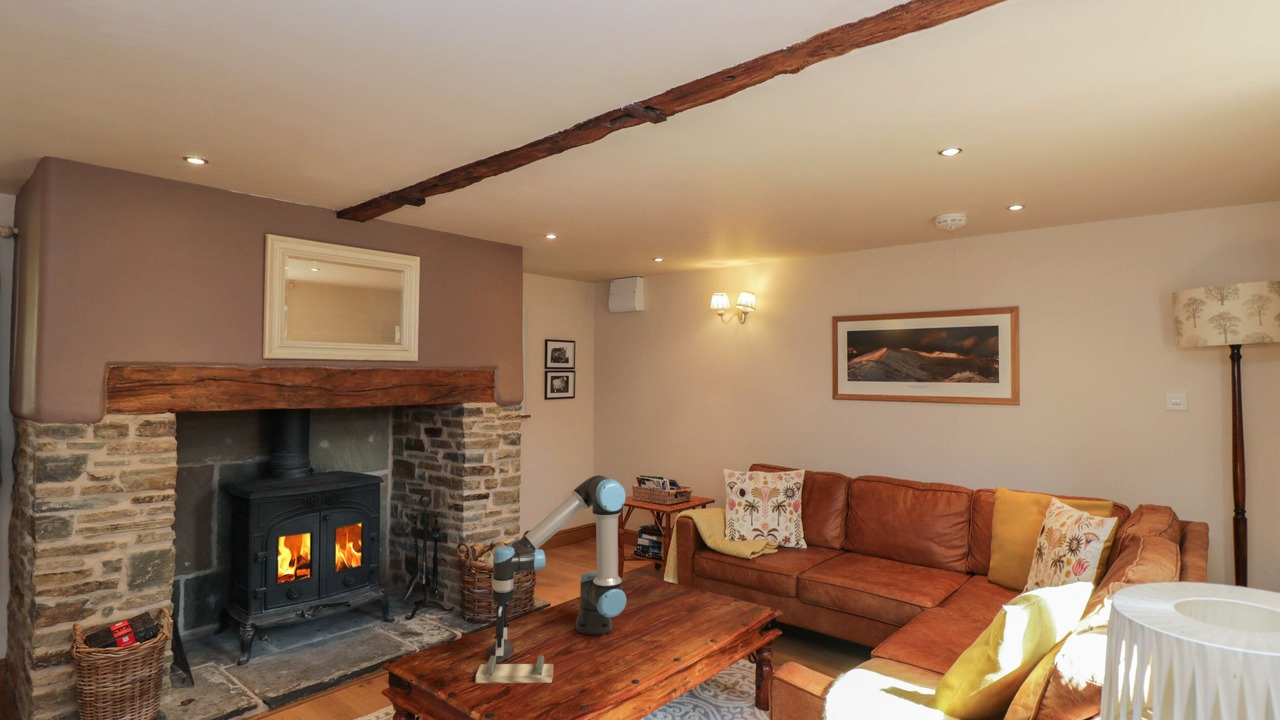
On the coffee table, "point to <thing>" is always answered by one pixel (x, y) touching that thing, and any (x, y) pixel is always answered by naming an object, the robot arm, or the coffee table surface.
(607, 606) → the robot arm
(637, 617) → the coffee table surface
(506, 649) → the stone
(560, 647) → the coffee table surface
